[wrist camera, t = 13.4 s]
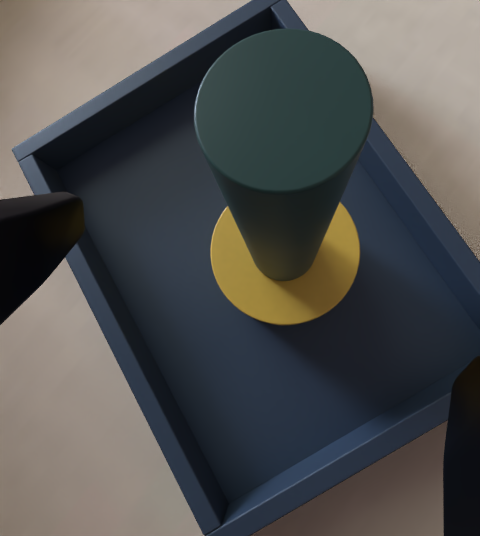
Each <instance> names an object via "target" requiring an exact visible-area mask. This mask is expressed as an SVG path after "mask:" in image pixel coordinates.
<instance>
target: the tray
mask: <svg viewBox="0 0 480 536" xmlns="http://www.w3.org/2000/svg"><path fill="white" fill-rule="evenodd" d="M286 28H288V29H302V30H308V29H307V27H306V26H305V25H304V23H303V22H302V21H301V19H300V18H299V17H298V15H297V14H296V13H295V11H294V10H293V8H292V7H291V6H290V4H289V3H288V2H287V0H252V1H250V2H249V3H247V4H245V5H244V6H242V7H241V8H239V9H237V10H236V11H234V12H232V13H231V14H229V15H228V16H226V17H224V18H223V19H221V20H219V21H218V22H216V23H215V24H213V25H211V26H210V27H208V28H207V29H205V30H203V31H202V32H200V33H198V34H197V35H195V36H194V37H192V38H190V39H189V40H187V41H185V42H184V43H182V44H181V45H179V46H177V47H176V48H174V49H173V50H171V51H169V52H168V53H166V54H164V55H163V56H161V57H160V58H158V59H156V60H155V61H153V62H151V63H150V64H148V65H147V66H145V67H143V68H142V69H140V70H139V71H137V72H135V73H134V74H132V75H130V76H129V77H127V78H126V79H124V80H122V81H121V82H119V83H117V84H116V85H114V86H113V87H111V88H109V89H108V90H106V91H105V92H103V93H101V94H100V95H98V96H96V97H95V98H93V99H92V100H90V101H88V102H87V103H85V104H83V105H82V106H80V107H79V108H77V109H75V110H74V111H72V112H71V113H69V114H67V115H66V116H64V117H62V118H61V119H59V120H58V121H56V122H54V123H53V124H51V125H49V126H48V127H46V128H45V129H43V130H41V131H40V132H38V133H37V134H35V135H33V136H32V137H30V138H28V139H27V140H25V141H24V142H22V143H20V144H19V145H17V146H15V147H14V148H12V151H13V153H14V155H15V157H16V159H17V161H18V162H19V165H20V167H21V169H22V171H23V173H24V175H25V177H26V179H27V181H28V183H29V185H30V187H31V189H32V191H33V193H34V195H41V194H48V193H56V192H68V193H70V194H73V195H75V196H78V197H80V198H81V199H82V201H83V207H84V220H85V230H84V233H83V235H82V237H81V238H80V240H79V241H78V242H77V243H76V244H75V246H74V247H73V248H72V249H71V251H70V252H69V253H68V254H67V255H66V259H67V261H68V263H69V265H70V267H71V269H72V271H73V273H74V275H75V277H76V279H77V281H78V284H79V286H80V288H81V290H82V292H83V294H84V296H85V298H86V300H87V302H88V304H89V306H90V308H91V310H92V312H93V314H94V316H95V318H96V320H97V322H98V324H99V326H100V328H101V330H102V332H103V334H104V336H105V338H106V340H107V342H108V344H109V346H110V348H111V350H112V352H113V354H114V356H115V358H116V360H117V362H118V364H119V366H120V368H121V370H122V372H123V374H124V376H125V378H126V380H127V382H128V384H129V386H130V388H131V390H132V392H133V394H134V396H135V398H136V400H137V402H138V404H139V406H140V408H141V410H142V412H143V414H144V416H145V418H146V420H147V422H148V424H149V426H150V428H151V430H152V432H153V434H154V436H155V438H156V440H157V442H158V444H159V446H160V448H161V450H162V452H163V454H164V456H165V458H166V460H167V462H168V464H169V466H170V468H171V470H172V472H173V474H174V476H175V478H176V480H177V482H178V484H179V486H180V488H181V490H182V492H183V494H184V497H185V499H186V501H187V503H188V505H189V507H190V509H191V511H192V513H193V515H194V517H195V519H196V521H197V523H198V525H199V527H200V529H201V531H202V533H203V535H205V536H250V535H252V534H253V533H255V532H257V531H259V530H260V529H262V528H264V527H265V526H267V525H269V524H271V523H272V522H274V521H276V520H277V519H279V518H281V517H283V516H284V515H286V514H288V513H289V512H291V511H293V510H295V509H296V508H298V507H300V506H301V505H303V504H305V503H307V502H308V501H310V500H312V499H313V498H315V497H317V496H318V495H320V494H322V493H324V492H325V491H327V490H329V489H330V488H332V487H334V486H336V485H337V484H339V483H341V482H342V481H344V480H346V479H348V478H349V477H351V476H353V475H354V474H356V473H358V472H360V471H361V470H363V469H365V468H366V467H368V466H370V465H371V464H373V463H375V462H377V461H378V460H380V459H382V458H383V457H385V456H387V455H389V454H390V453H392V452H394V451H395V450H397V449H399V448H401V447H402V446H404V445H406V444H407V443H409V442H411V441H413V440H414V439H416V438H418V437H419V436H421V435H423V434H424V433H426V432H428V431H430V430H431V429H433V428H435V427H436V426H438V425H440V424H442V423H443V422H445V421H447V420H448V415H449V407H450V399H451V391H452V386H453V383H454V381H455V379H456V378H457V377H458V375H459V374H460V373H461V372H462V371H463V370H464V369H465V368H466V367H467V366H468V365H469V364H470V362H471V361H472V360H473V359H474V358H475V357H477V356H478V355H480V262H479V260H478V259H477V258H476V256H475V255H474V253H473V252H472V251H471V249H470V248H469V247H468V245H467V244H466V243H465V241H464V240H463V239H462V237H461V236H460V235H459V233H458V232H457V230H456V229H455V228H454V226H453V225H452V224H451V222H450V221H449V220H448V218H447V217H446V216H445V214H444V213H443V212H442V210H441V209H440V207H439V206H438V205H437V203H436V202H435V201H434V199H433V198H432V197H431V195H430V194H429V193H428V191H427V190H426V189H425V187H424V186H423V184H422V183H421V182H420V180H419V179H418V178H417V176H416V175H415V174H414V172H413V171H412V170H411V168H410V167H409V165H408V164H407V163H406V161H405V160H404V159H403V157H402V156H401V155H400V153H399V152H398V151H397V149H396V148H395V147H394V145H393V144H392V142H391V141H390V140H389V138H388V137H387V136H386V134H385V133H384V132H383V130H382V129H381V128H380V126H379V125H378V124H377V122H376V121H375V119H374V118H373V120H372V125H371V129H370V133H369V135H368V138H367V140H366V143H365V145H364V147H363V150H362V152H361V154H360V156H359V159H358V161H357V163H356V166H355V168H354V170H353V173H352V175H351V177H350V179H349V182H348V184H347V186H346V189H345V191H344V193H343V195H342V198H341V200H340V202H341V204H342V205H343V206H344V207H345V208H346V210H347V211H348V213H349V214H350V216H351V217H352V220H353V222H354V224H355V226H356V229H357V232H358V236H359V242H360V261H359V267H358V271H357V274H356V277H355V279H354V282H353V284H352V285H351V287H350V289H349V291H348V292H347V294H346V295H345V296H344V297H343V299H342V300H341V301H340V302H339V303H338V304H337V305H336V306H335V307H333V308H332V309H331V310H330V311H328V312H327V313H325V314H323V315H322V316H320V317H318V318H315V319H313V320H311V321H308V322H304V323H300V324H296V325H274V324H270V323H266V322H263V321H259V320H257V319H255V318H252V317H250V316H248V315H247V314H245V313H243V312H242V311H240V310H239V309H238V308H237V307H235V306H234V305H233V304H232V303H231V302H230V301H229V300H228V299H227V297H226V296H225V295H224V293H223V292H222V290H221V289H220V287H219V285H218V283H217V281H216V278H215V276H214V273H213V269H212V265H211V241H212V236H213V232H214V229H215V226H216V224H217V222H218V219H219V218H220V216H221V214H222V213H223V211H224V210H225V209H226V207H227V206H228V205H227V203H226V201H225V199H224V197H223V195H222V192H221V190H220V188H219V186H218V184H217V182H216V180H215V178H214V175H213V173H212V171H211V169H210V167H209V165H208V163H207V161H206V158H205V156H204V154H203V152H202V150H201V147H200V145H199V143H198V140H197V136H196V132H195V126H194V107H195V101H196V97H197V93H198V90H199V87H200V85H201V83H202V81H203V78H204V76H205V75H206V73H207V72H208V70H209V68H210V67H211V66H212V65H213V63H214V62H215V61H216V60H217V59H218V58H219V57H220V56H221V55H222V54H223V53H224V52H225V51H226V50H228V49H229V48H230V47H232V46H233V45H235V44H236V43H238V42H240V41H241V40H243V39H245V38H247V37H250V36H252V35H255V34H258V33H261V32H264V31H269V30H274V29H286ZM308 31H309V30H308Z"/></svg>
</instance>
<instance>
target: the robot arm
mask: <svg viewBox="0 0 480 536" xmlns="http://www.w3.org/2000/svg"><path fill="white" fill-rule="evenodd" d="M84 230H85V220H84V207H83V201H82V199H81V198H80V197H78V196H75V195H73V194H70V193H68V192H56V193H48V194H41V195H33V196H25V197H18V198H10V199H2V200H0V325H1V324H2V323H3V322H4V321H5V320H6V319H7V318H8V317H9V316H10V315H11V314H12V313H13V312H14V311H15V310H16V309H17V308H18V307H19V306H20V305H21V304H22V303H23V302H25V301H26V300H27V299H28V298H29V297H30V296H31V295H32V294H33V293H34V292H35V291H36V290H37V289H38V288H39V287H40V286H41V285H42V284H43V283H44V281H45V280H46V279H47V278H48V277H49V276H50V275H51V273H52V272H53V271H54V270H55V269H56V267H57V266H58V265H59V264H60V263H61V261H62V260H63V259H64V258H65V257H66V255H67V254H68V253H69V252H70V251H71V249H72V248H73V247H74V246H75V244H76V243H77V242H78V241H79V240H80V238H81V237H82V235H83V233H84ZM443 488H444V536H480V355H478V356H477V357H475V358H474V359H473V360H472V361H471V362H470V364H469V365H468V366H467V367H466V368H465V369H464V370H463V371H462V372H461V373H460V374H459V375H458V377H457V378H456V379H455V381H454V383H453V386H452V391H451V399H450V407H449V415H448V424H447V432H446V440H445V449H444V467H443Z"/></svg>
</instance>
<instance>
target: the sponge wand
mask: <svg viewBox="0 0 480 536" xmlns="http://www.w3.org/2000/svg"><path fill="white" fill-rule="evenodd" d="M372 120H373V97H372V91H371V87H370V84H369V82H368V79H367V76H366V74H365V72H364V70H363V69H362V67H361V65H360V64H359V63H358V61H357V60H356V59H355V57H354V56H353V55H352V54H351V53H350V52H349V51H348V50H347V49H345V48H344V47H343V46H341V45H340V44H339V43H337V42H335V41H334V40H332V39H330V38H328V37H326V36H324V35H321V34H319V33H315V32H312V31H308V30H302V29H288V28H286V29H274V30H269V31H264V32H261V33H258V34H255V35H252V36H250V37H247V38H245V39H243V40H241V41H240V42H238V43H236V44H235V45H233V46H232V47H230V48H229V49H228V50H226V51H225V52H224V53H223V54H222V55H221V56H220V57H219V58H218V59H217V60H216V61H215V62H214V63H213V65H212V66H211V67H210V68H209V70H208V72H207V73H206V75H205V76H204V78H203V81H202V83H201V85H200V87H199V90H198V93H197V97H196V101H195V107H194V126H195V132H196V136H197V140H198V143H199V145H200V147H201V150H202V152H203V154H204V156H205V158H206V161H207V163H208V165H209V167H210V169H211V171H212V173H213V175H214V178H215V180H216V182H217V184H218V186H219V188H220V190H221V192H222V195H223V197H224V199H225V201H226V203H227V205H228V206H227V207H226V209H225V210H224V211H223V213H222V214H221V216H220V218H219V219H218V222H217V224H216V226H215V229H214V232H213V236H212V241H211V265H212V269H213V273H214V276H215V278H216V281H217V283H218V285H219V287H220V289H221V290H222V292H223V293H224V295H225V296H226V297H227V299H228V300H229V301H230V302H231V303H232V304H233V305H234V306H235V307H237V308H238V309H239V310H240V311H242V312H243V313H245V314H247V315H248V316H250V317H252V318H255V319H257V320H259V321H263V322H266V323H270V324H274V325H296V324H300V323H304V322H308V321H311V320H313V319H315V318H318V317H320V316H322V315H323V314H325V313H327V312H328V311H330V310H331V309H332V308H333V307H335V306H336V305H337V304H338V303H339V302H340V301H341V300H342V299H343V297H344V296H345V295H346V294H347V292H348V291H349V289H350V287H351V285H352V284H353V282H354V279H355V277H356V274H357V271H358V267H359V261H360V242H359V236H358V232H357V229H356V226H355V224H354V222H353V220H352V217H351V216H350V214H349V213H348V211H347V210H346V208H345V207H344V206H343V205H342V204H341V202H340V200H341V198H342V195H343V193H344V191H345V189H346V186H347V184H348V182H349V179H350V177H351V175H352V173H353V170H354V168H355V166H356V163H357V161H358V159H359V156H360V154H361V152H362V150H363V147H364V145H365V143H366V140H367V138H368V135H369V133H370V129H371V125H372Z"/></svg>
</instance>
